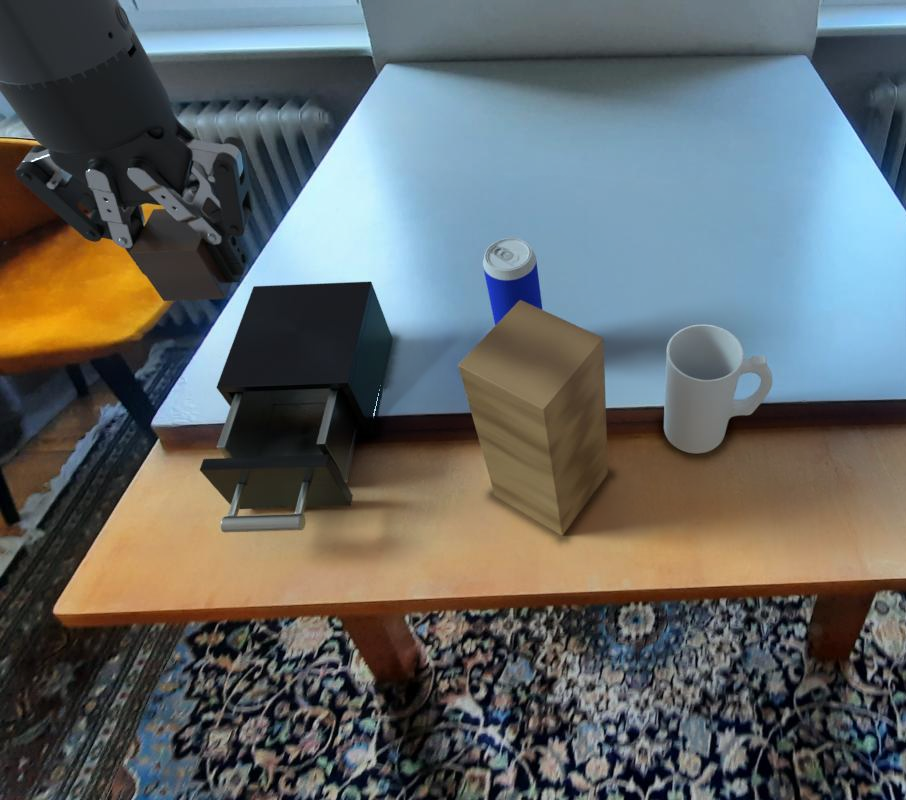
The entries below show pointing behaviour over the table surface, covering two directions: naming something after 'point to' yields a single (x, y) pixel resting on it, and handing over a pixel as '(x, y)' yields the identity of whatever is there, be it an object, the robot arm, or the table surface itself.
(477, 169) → the table surface
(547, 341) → the stand
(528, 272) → the beverage can
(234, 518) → the drawer
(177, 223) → the block
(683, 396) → the mug
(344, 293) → the black drawer cabinet
